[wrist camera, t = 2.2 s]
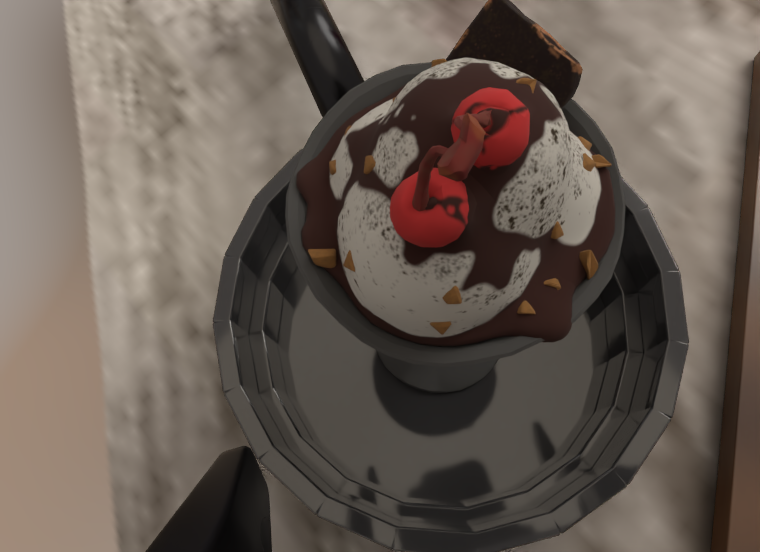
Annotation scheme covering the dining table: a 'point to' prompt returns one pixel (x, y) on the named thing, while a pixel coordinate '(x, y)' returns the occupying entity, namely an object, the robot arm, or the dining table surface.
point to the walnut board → (743, 370)
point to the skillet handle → (318, 50)
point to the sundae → (459, 205)
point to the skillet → (448, 401)
